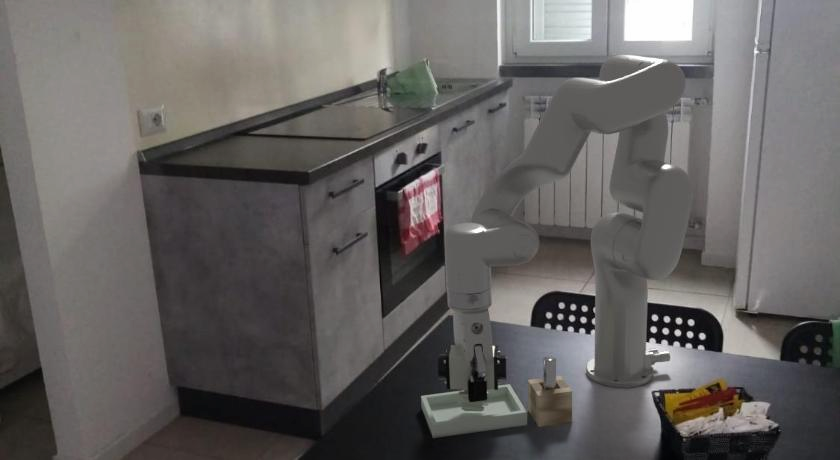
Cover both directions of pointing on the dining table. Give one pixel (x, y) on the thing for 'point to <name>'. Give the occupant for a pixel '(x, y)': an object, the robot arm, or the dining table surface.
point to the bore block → (550, 402)
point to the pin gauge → (549, 373)
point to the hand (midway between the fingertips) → (473, 390)
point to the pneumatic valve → (458, 375)
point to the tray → (472, 413)
